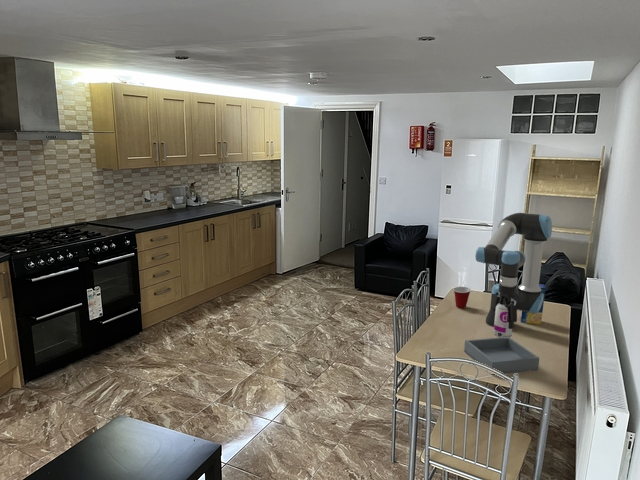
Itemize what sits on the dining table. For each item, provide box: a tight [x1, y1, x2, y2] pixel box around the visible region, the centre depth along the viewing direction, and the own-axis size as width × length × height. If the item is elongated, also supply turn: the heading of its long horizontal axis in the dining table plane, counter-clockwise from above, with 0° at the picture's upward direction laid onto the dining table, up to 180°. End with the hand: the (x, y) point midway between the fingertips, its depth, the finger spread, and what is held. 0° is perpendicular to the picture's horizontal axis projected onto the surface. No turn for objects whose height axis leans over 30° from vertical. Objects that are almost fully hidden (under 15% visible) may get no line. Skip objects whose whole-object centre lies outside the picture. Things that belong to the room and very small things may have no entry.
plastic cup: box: [452, 286, 472, 309], centre depth 301 cm, size 11×11×12 cm
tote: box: [463, 337, 540, 374], centre depth 230 cm, size 24×24×6 cm
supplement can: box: [492, 303, 513, 338], centre depth 226 cm, size 8×8×15 cm
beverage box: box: [519, 283, 547, 325], centre depth 279 cm, size 7×11×22 cm, turn 72°
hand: (502, 330), depth 227 cm, fingers closed on supplement can, 8 cm apart
